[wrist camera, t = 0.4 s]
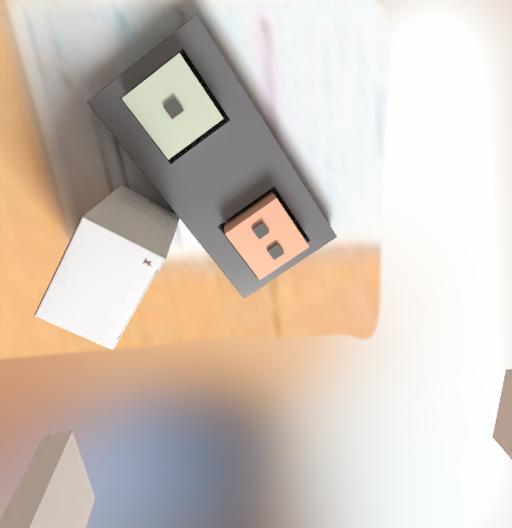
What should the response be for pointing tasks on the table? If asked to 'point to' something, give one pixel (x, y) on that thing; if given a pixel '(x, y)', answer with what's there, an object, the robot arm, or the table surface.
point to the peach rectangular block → (265, 235)
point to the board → (213, 157)
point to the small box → (108, 266)
